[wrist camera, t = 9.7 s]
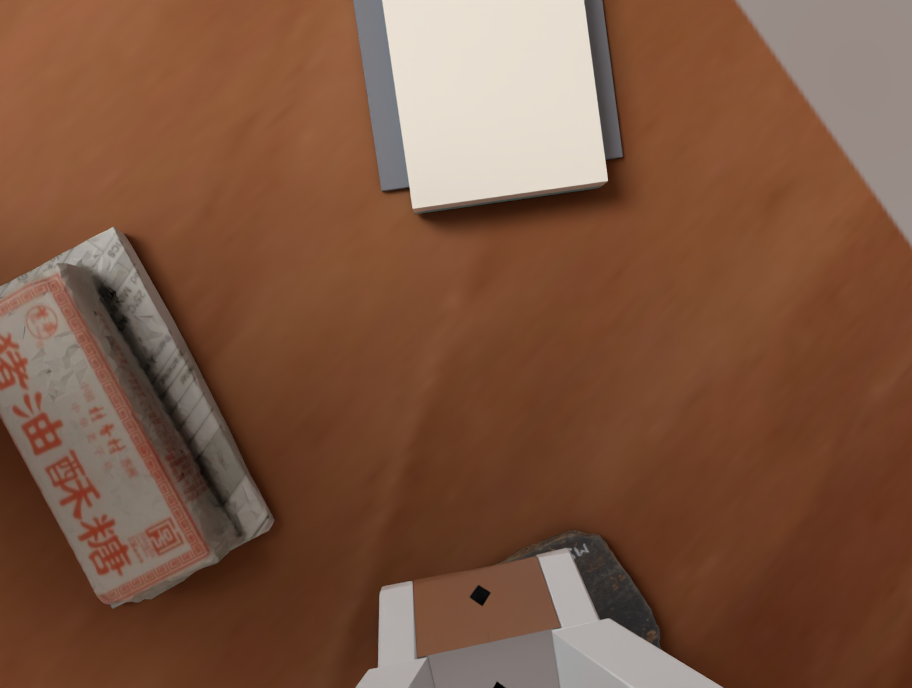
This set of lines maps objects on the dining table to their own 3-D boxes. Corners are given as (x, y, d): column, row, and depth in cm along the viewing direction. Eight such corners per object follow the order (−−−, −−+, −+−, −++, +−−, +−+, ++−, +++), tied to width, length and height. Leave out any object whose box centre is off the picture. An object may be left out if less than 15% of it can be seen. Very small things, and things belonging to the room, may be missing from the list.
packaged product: (258, 552, 31) (73, 646, 31) (283, 520, 36) (123, 601, 36) (77, 213, 30) (-113, 310, 30) (128, 227, 35) (-36, 311, 35)
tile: (608, 180, 33) (570, -101, 32) (412, 208, 33) (371, -74, 32) (599, 188, 34) (563, -79, 34) (414, 214, 34) (375, -53, 34)
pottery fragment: (602, 509, 36) (624, 533, 32) (686, 700, 36) (719, 750, 32) (360, 618, 36) (349, 657, 32) (447, 808, 36) (448, 873, 32)
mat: (621, 157, 35) (623, 156, 34) (382, 191, 35) (381, 190, 34) (579, -156, 34) (581, -160, 34) (335, -123, 34) (334, -127, 34)
